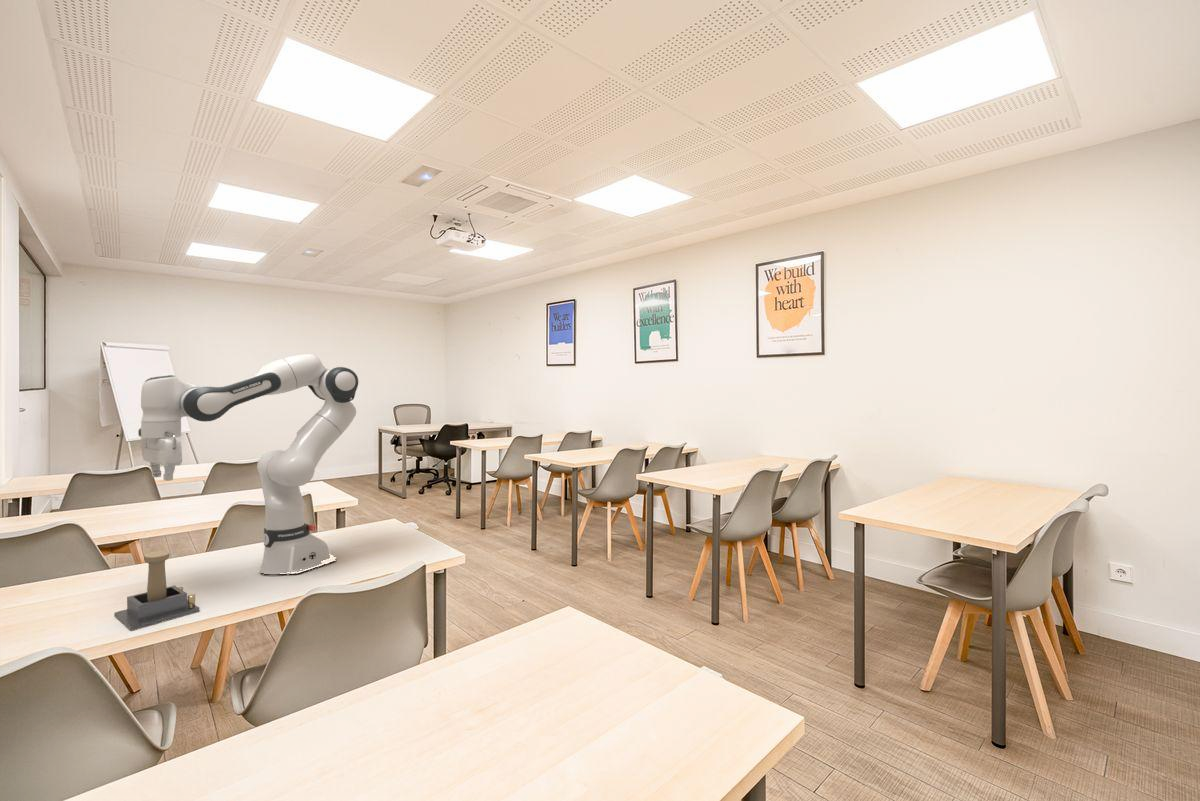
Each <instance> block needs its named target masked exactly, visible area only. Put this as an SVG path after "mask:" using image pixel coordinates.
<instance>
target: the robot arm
mask: <svg viewBox="0 0 1200 801" xmlns="http://www.w3.org/2000/svg"><path fill="white" fill-rule="evenodd" d="M358 386H359V377H358V375H357V373H356V372H355V371H353V370H352V369H350V368H349V367H344V366H336V367H334V368H326V367H325V366H324V364H323V362H322V360H321V359H320V358H319V357H318V356H317V355H315V354H314V353H313V354H312V353H302V354H296V355H291V356H287V357H284V358H280V359H276V360H273V361H271V362H268V363H267V364H265V365H263V366H260V368H259V369H258V370H257V372H256V374H254V375H253V376H252V377H249V378H247V379H244V380H241V381H237V382H234V383H231V384H228V385H224V386H218V387H217V386H199V385H197V384H193V383H190V382H187V381H185V380H183V379H181V378H180V377H179V376H177V375H161V376H155V377H149V378H148V379H146V380H144V382H143V383H142V387H141V391H140V392H141V393H140V394H141V395H140V408H141V410H142V416H141V419H140V420H141V422H140V424H141V426H140V428H139V429H138V430H137V436H138V437H140V448H141V456H142V459H143V461H145V462H149V467H150V470H151V477H153V478H160V477H161V476H162V471H161V466H163V469H164V471H163V472H164V474H163V481H166V482H168V481H173V480H174V472H175V469H176V466H181V465H182V462H183V450H182V443H181V440H180V439H179V437H181V436H182V418H184V417H188V418H191V419H193V420H195V421H198V422H206V423H207V422H212V421H216V420H217V419H220V418H222V416H224V415H225V414H226V413H227V412H228V411H229V410H231V409H232V408H234V407H236V406H238V405H240V404H243V403H246V402H249V401H252V400H254V399H257V398H260V397H264V396H273V395H280V394H284V393H288V392H292V391H294V390H297V389H298V390H299V389H301V388H304V387H308V388H309V389H310V390H311V392H312V393H313V395H314V396H316V397H317V398H318V399H320V400H323V401H324V404H323V405H322V406H321V409H319V410H318V411H317V412H316V413H315V414H314V415H313V416H312V417H311V418H309V419H308V421H307V422H305V424H304V425H303V426H302V427H301V428H300V429H298V431H297V432H296V436H295V438H294V439H293V441H292V442H291V444H290V445H289V447H288V448H287V449H286V450H280V449H278V450H272V451H268V452H266V453H264V454H263V455H262V456H261V457H260V458H259V459H258V461H257V463H256V467H257V472H258V474H259V477H260V484H261V488H262V493H263V494H262V495H263V499H264V508H265V510H264V511H265V512H264V513H265V527H264V528H263V546H264V550H263V551H264V552H263V558H262V562H261V566H260V569H259V571H260V572H261V573H264V574H280V573H287V572H290V573H291V572H299V571H303V570H305V569H308V568H311V567H314V566H317V565H319V564H322V563H321V561H323V560H326V559H329V558H330V555H329V553H330V551H329V546H328V544H327V542H325V541H324V540H322V539H320V538H318V537H317V536H315V535H313V534H311V532H315V531H316V529H317V526H316V525H314V524H308V523H305V500H304V497H303V495H302V491H301V489H300V486H305V485H306V484H308V483H309V482H310V481H311V480H312V478H314V475H315V471H316V470H315V469H316V467H317V465H318V464H319V462H320V460H321V459H322V457H323V455H324V454H325V453H326V452H327V451H328V450H329V448H331V446H332V445H334V443H335V442H336V441H337V440H338V439H339V438H340V437H341V436H342V434H343V433H344V432H345V431H346V430H347V429H348V427H349V426H350V425H351V423H352V422H353V420H354V419H355V417H356V416H357V408H356V406H355V405H354V404H353V403H352V402H351V401H353V400H354V399H355V396H356V393H357V389H358ZM160 465H161V466H160ZM310 531H311V532H310ZM300 569H302V570H300ZM260 572H259V573H260ZM261 573H260V574H261ZM264 574H263V575H264Z"/></svg>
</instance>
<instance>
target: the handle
mask: <svg viewBox="0 0 1200 801" xmlns="http://www.w3.org/2000/svg"><path fill="white" fill-rule="evenodd" d="M168 559H170V552H169V551H168V550H154V551H150V552H147V553H144V556H143V561H144V562H145V563H147V564H148V573H147V575H148V576H147V585H146V588H147V589H146V592H147V597H148V602H150V601H154V600H158V599H162V598H166V587H167V578H166V575H167V574H166V561H167V560H168Z"/></svg>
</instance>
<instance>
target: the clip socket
mask: <svg viewBox="0 0 1200 801" xmlns="http://www.w3.org/2000/svg"><path fill="white" fill-rule="evenodd" d="M199 612H200V606H197V604H196V594H189V595H188V593H187V592H186V591H184V586H179V587H178V586H177V585H171V586H166V598H162V599H158V600H154V601H150V602H148V597H147V591H146V592H141V593H138V594H134V595H130V596H126V609H124V610H119V611H115V612H114V617H115V618H116V619H117V620H118V621H119V622H120V623H121V624H123V626H124V627H125V628H127V629H128V630H129V631H130V632H133V631H136V630H139V629H142V627H143V628H147V627H149V626H153V625H157V624H160V623H159V622H161V623H163V622H162V621H164V622H166V621H165V620H168V619H171V620H173V619H172V618H175V619H177V617H178V618H181V617H184V616H189V615H190V614H191V615H192V614H195V613H199ZM168 621H169V620H168ZM156 623H157V624H156ZM138 628H139V629H138ZM135 629H136V630H135Z"/></svg>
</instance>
